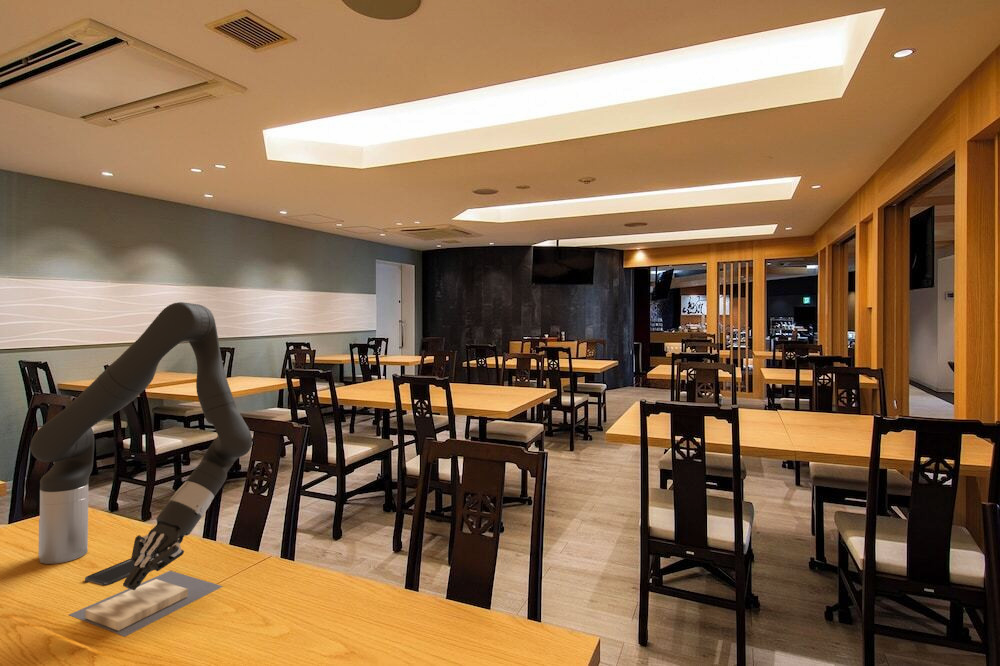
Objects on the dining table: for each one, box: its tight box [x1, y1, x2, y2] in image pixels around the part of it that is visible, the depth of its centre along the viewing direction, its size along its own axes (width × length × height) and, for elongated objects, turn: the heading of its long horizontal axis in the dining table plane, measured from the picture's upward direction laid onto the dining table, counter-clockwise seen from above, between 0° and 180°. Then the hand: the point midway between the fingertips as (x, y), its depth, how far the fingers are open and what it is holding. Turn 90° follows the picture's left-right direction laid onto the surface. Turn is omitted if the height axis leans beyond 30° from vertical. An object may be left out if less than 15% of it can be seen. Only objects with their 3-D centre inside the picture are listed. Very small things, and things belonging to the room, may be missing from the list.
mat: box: [68, 570, 224, 637], centre depth 112 cm, size 17×21×1 cm
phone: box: [84, 555, 161, 587], centre depth 125 cm, size 8×1×15 cm
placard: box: [85, 579, 188, 631], centre depth 109 cm, size 10×2×14 cm
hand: (128, 587), depth 107 cm, fingers closed
